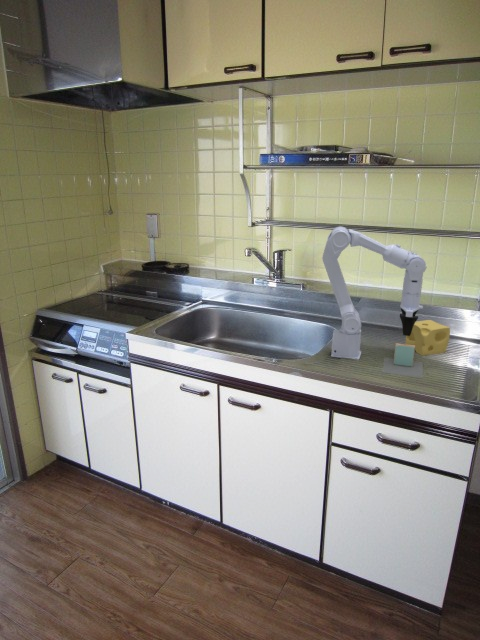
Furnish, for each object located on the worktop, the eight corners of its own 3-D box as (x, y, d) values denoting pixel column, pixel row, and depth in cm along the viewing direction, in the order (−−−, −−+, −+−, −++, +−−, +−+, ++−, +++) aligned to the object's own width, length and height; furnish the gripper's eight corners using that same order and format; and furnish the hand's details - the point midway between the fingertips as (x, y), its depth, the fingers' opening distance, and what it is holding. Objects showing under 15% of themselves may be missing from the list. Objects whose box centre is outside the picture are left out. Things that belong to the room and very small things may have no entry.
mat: (381, 374, 144) (382, 372, 144) (384, 359, 156) (384, 357, 156) (422, 379, 140) (422, 377, 140) (422, 364, 152) (422, 362, 152)
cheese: (421, 357, 158) (425, 330, 155) (403, 346, 168) (406, 320, 164) (447, 354, 160) (451, 327, 157) (427, 344, 170) (431, 318, 167)
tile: (393, 364, 150) (395, 344, 148) (393, 363, 151) (395, 343, 149) (412, 367, 148) (415, 346, 146) (412, 365, 149) (415, 345, 147)
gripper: (425, 298, 141) (419, 340, 145) (424, 288, 154) (419, 326, 158) (400, 296, 144) (396, 337, 148) (402, 286, 157) (398, 324, 161)
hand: (406, 331), depth 153 cm, fingers open, 7 cm apart
